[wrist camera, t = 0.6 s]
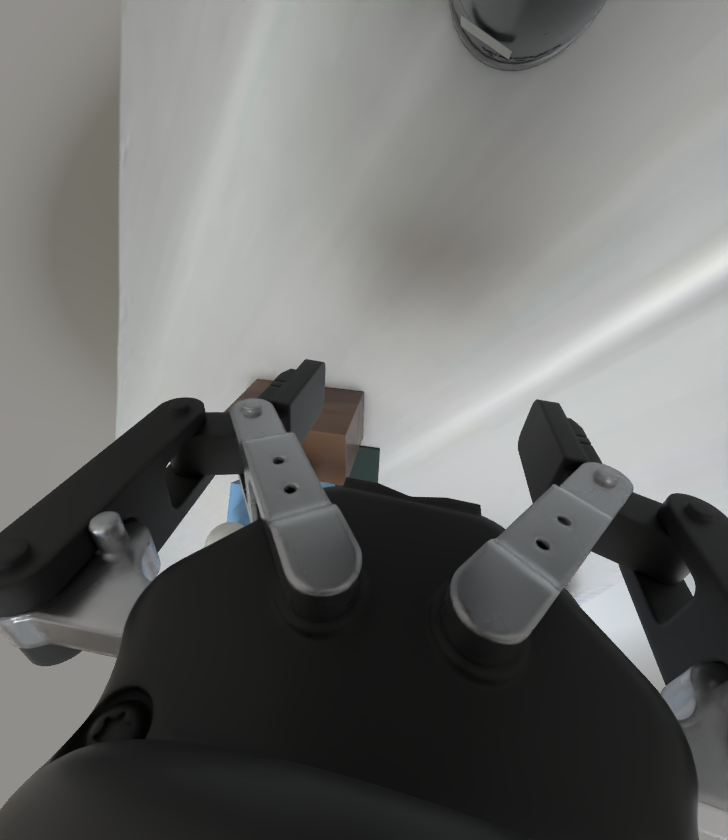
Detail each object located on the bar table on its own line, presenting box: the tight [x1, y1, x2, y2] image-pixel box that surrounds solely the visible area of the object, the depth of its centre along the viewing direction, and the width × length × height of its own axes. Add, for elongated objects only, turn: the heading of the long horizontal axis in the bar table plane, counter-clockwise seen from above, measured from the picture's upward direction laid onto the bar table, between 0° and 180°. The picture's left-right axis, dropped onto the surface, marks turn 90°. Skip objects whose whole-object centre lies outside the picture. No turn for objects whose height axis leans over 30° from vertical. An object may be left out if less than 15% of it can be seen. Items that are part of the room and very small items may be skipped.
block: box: [225, 379, 364, 485], centre depth 36 cm, size 6×12×8 cm, turn 89°
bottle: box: [205, 480, 335, 547], centre depth 35 cm, size 14×6×19 cm, turn 179°
